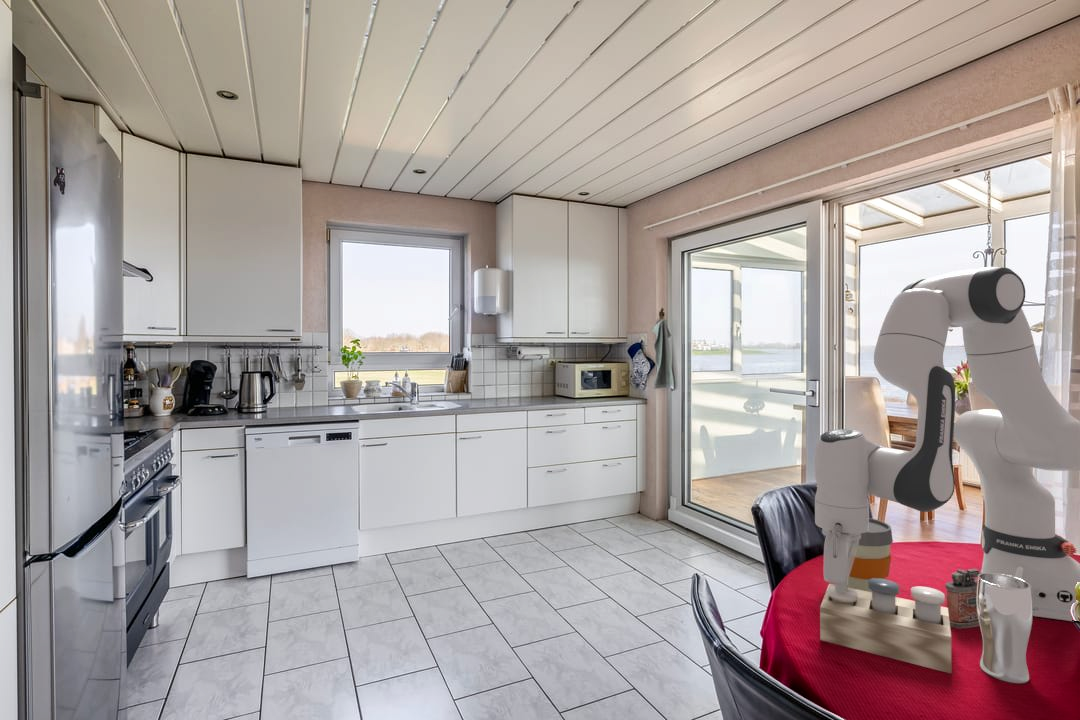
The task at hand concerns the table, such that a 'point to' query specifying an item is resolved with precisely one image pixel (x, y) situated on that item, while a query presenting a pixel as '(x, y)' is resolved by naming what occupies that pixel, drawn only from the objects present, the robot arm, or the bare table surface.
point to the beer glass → (1004, 625)
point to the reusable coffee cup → (871, 555)
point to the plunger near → (928, 604)
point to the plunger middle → (883, 595)
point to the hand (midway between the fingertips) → (841, 591)
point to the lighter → (962, 599)
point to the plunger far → (843, 596)
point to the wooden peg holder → (887, 631)
